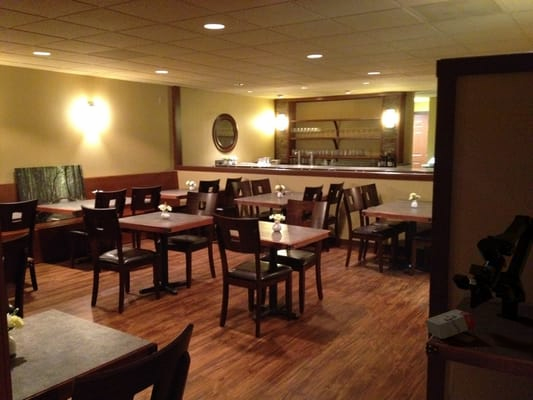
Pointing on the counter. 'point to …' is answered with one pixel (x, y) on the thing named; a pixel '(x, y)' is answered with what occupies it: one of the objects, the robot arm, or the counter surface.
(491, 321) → the counter surface
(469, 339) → the mat
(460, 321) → the ink box
